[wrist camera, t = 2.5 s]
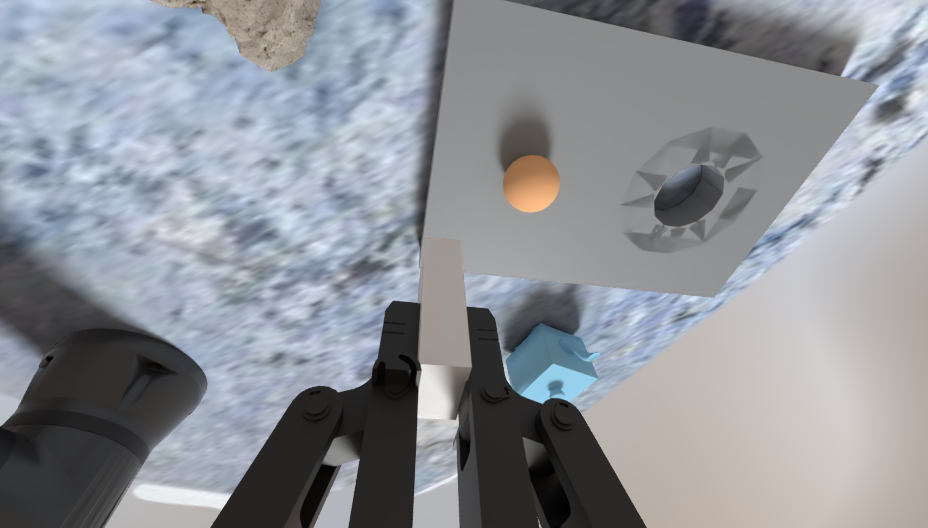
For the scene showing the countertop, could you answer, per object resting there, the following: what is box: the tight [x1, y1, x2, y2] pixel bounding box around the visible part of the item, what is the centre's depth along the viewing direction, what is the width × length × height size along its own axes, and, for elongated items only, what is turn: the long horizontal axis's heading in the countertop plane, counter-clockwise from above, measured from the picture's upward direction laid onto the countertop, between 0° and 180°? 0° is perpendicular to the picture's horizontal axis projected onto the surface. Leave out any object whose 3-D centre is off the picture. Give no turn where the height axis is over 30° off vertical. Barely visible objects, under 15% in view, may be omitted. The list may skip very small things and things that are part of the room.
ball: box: [503, 155, 560, 212], centre depth 26 cm, size 4×4×4 cm
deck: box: [419, 0, 879, 298], centre depth 30 cm, size 30×20×3 cm, turn 80°
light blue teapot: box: [506, 323, 600, 404], centre depth 41 cm, size 12×6×8 cm, turn 151°
